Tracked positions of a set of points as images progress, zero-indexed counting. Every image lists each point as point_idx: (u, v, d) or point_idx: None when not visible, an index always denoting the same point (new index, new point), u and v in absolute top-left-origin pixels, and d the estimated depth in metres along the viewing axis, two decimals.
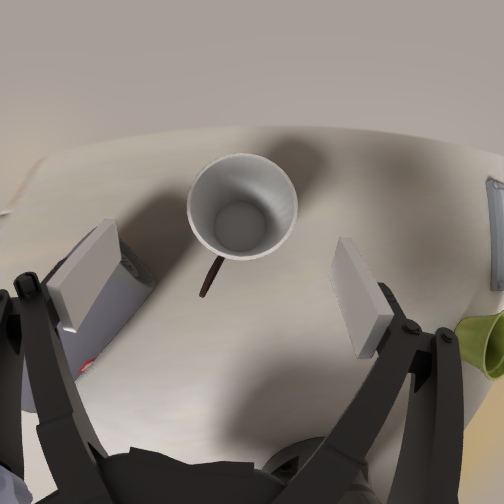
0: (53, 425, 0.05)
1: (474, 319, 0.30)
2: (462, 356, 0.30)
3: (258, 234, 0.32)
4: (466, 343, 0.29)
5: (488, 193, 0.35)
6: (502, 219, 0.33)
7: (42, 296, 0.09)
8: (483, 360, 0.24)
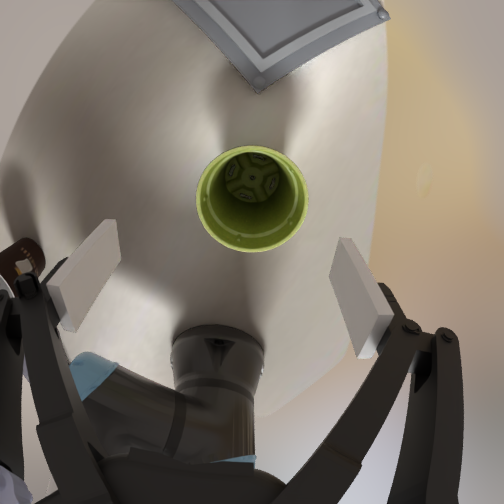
0: (54, 425, 0.05)
1: (222, 167, 0.28)
2: (245, 212, 0.31)
3: None
4: None
5: None
6: (200, 6, 0.20)
7: (42, 296, 0.09)
8: (220, 242, 0.26)
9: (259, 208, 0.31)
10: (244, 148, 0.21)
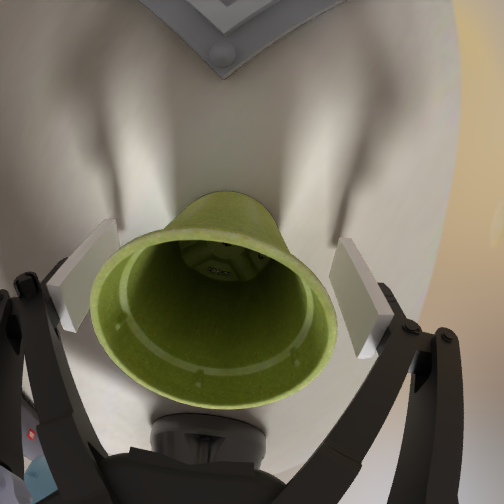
0: (54, 425, 0.05)
1: None
2: (217, 308, 0.17)
3: None
4: None
5: None
6: None
7: (42, 296, 0.09)
8: (164, 394, 0.12)
9: (242, 297, 0.17)
10: (165, 238, 0.08)
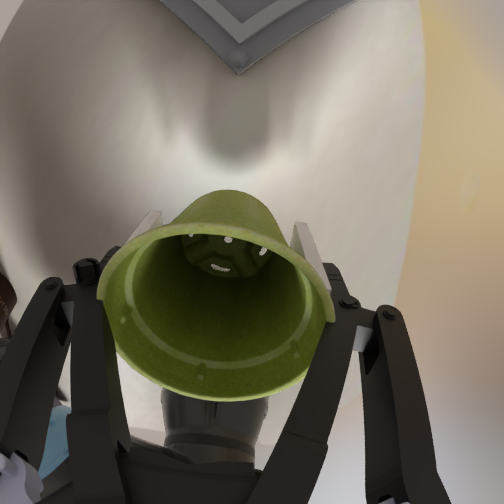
0: (85, 418, 0.05)
1: None
2: (218, 303, 0.17)
3: None
4: None
5: None
6: None
7: None
8: (167, 387, 0.13)
9: (243, 293, 0.18)
10: (171, 232, 0.08)
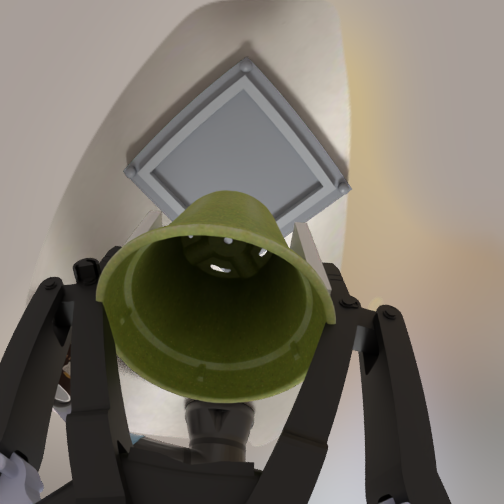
0: (85, 418, 0.05)
1: None
2: (218, 304, 0.17)
3: None
4: None
5: None
6: None
7: None
8: (167, 388, 0.12)
9: (243, 294, 0.18)
10: (171, 234, 0.08)
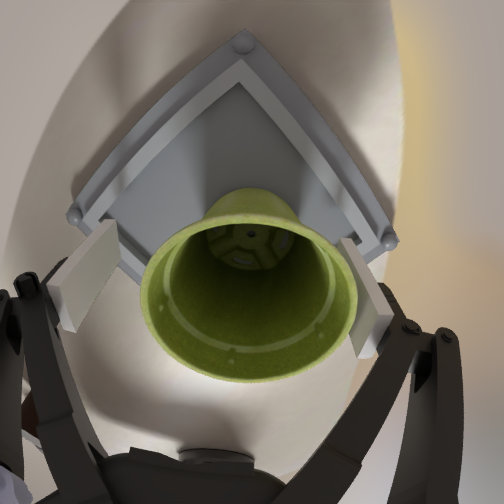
0: (53, 425, 0.05)
1: None
2: (243, 294, 0.19)
3: None
4: None
5: None
6: None
7: (42, 296, 0.09)
8: None
9: (265, 284, 0.19)
10: (220, 222, 0.10)
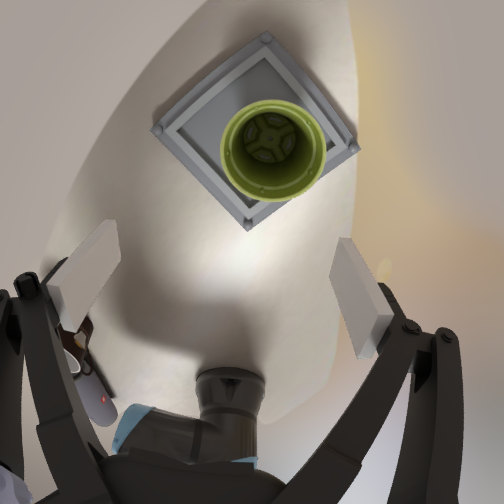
0: (54, 425, 0.05)
1: (241, 128, 0.28)
2: (266, 170, 0.31)
3: None
4: None
5: None
6: (194, 160, 0.32)
7: (42, 296, 0.09)
8: (245, 193, 0.26)
9: (278, 166, 0.31)
10: (263, 102, 0.22)
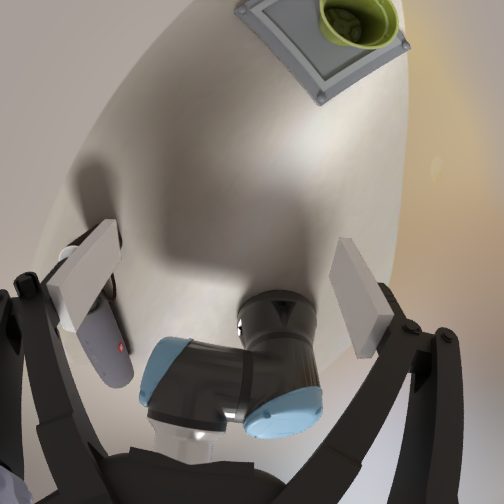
0: (54, 425, 0.05)
1: None
2: (342, 44, 0.28)
3: None
4: (328, 33, 0.26)
5: (244, 22, 0.29)
6: (275, 35, 0.29)
7: (42, 296, 0.09)
8: (340, 38, 0.23)
9: None
10: None
